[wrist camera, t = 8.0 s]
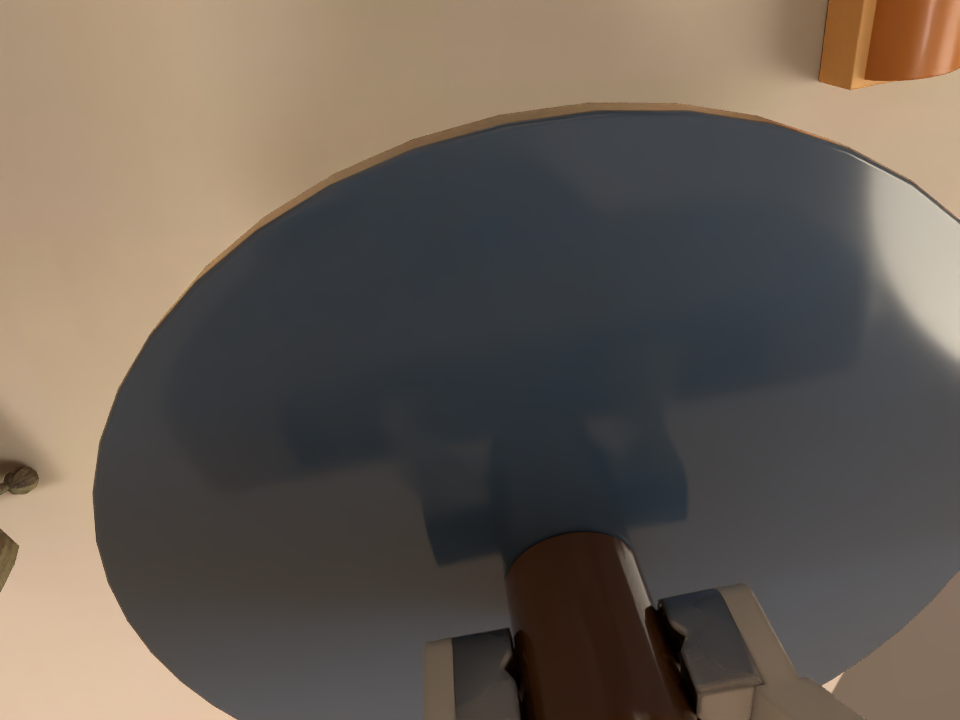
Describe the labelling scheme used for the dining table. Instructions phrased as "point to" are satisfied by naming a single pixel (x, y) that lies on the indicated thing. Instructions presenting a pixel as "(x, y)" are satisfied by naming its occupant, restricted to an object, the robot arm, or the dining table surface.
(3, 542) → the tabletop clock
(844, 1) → the orange rounded bar
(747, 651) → the robot arm
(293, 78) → the dining table surface
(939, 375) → the crock lid
